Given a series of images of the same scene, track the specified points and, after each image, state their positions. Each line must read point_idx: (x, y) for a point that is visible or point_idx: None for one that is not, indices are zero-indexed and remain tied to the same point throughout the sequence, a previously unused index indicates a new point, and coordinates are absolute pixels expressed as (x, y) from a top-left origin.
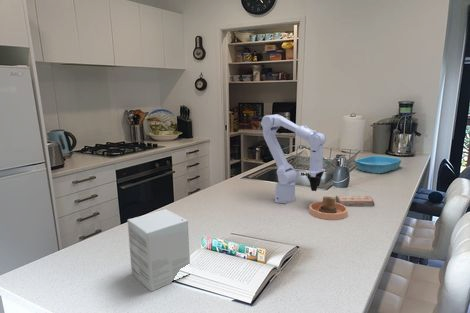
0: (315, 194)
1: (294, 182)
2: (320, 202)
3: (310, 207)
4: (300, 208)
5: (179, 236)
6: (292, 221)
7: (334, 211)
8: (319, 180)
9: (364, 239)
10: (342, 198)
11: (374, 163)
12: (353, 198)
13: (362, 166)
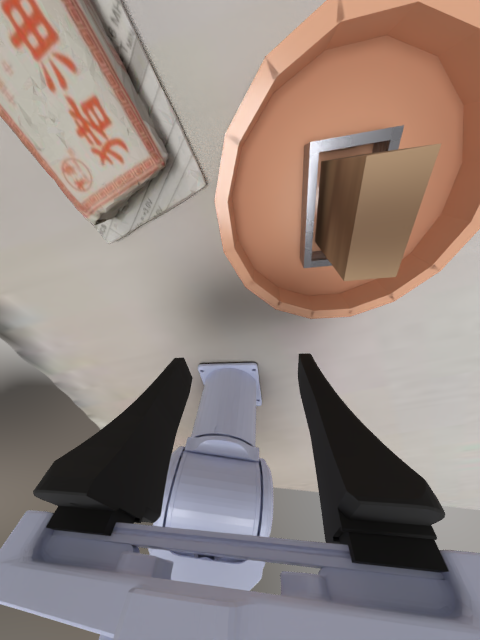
0: (90, 327)
1: (205, 446)
2: (256, 281)
3: (371, 306)
4: (283, 335)
5: None
6: (447, 326)
7: (398, 142)
8: (161, 398)
9: None
10: (105, 153)
11: None
12: (14, 15)
13: None
